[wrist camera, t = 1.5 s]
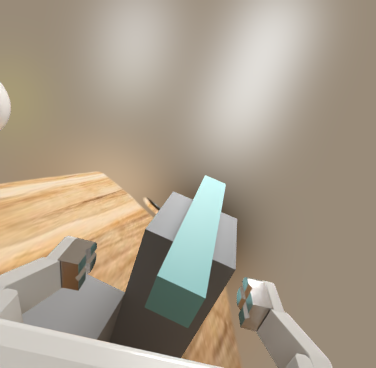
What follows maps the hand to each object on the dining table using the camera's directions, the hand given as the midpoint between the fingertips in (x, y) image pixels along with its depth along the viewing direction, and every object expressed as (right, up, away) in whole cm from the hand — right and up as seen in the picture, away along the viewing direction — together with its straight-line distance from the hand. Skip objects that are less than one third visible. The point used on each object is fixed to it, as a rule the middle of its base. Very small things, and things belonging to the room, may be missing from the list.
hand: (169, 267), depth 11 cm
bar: (+2, -2, +17) cm, 17 cm away
